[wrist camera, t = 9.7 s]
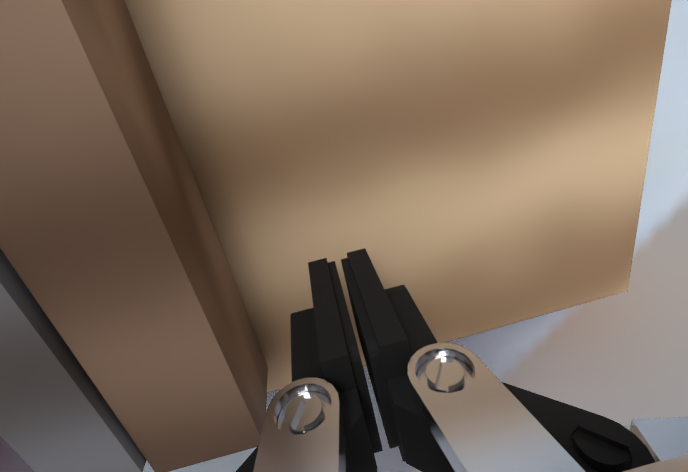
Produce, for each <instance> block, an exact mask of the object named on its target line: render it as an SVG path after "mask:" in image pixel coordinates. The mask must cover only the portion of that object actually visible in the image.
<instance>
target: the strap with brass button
mask: <svg viewBox="0 0 688 472" xmlns="http://www.w3.org/2000/svg"><path fill="white" fill-rule="evenodd" d="M0 249H1V250H2V251H3V253H4V254H5V256H6V257H7V259H8V260H9V262H10V263H11V264H12V266H13V267H14V269H15V270H16V272H17V273H18V275H19V276H20V277H21V279H22V280H23V282H24V283H25V285H26V286H27V288H28V289H29V290H30V292H31V293H32V295H33V296H34V298H35V299H36V301H37V302H38V303H39V305H40V306H41V308H42V309H43V311H44V312H45V314H46V315H47V316H48V318H49V319H50V321H51V322H52V324H53V325H54V327H55V328H56V330H57V331H58V332H59V334H60V335H61V337H62V338H63V340H64V341H65V343H66V344H67V345H68V347H69V348H70V350H71V351H72V353H73V354H74V356H75V357H76V358H77V360H78V361H79V363H80V364H81V366H82V367H83V369H84V370H85V371H86V373H87V374H88V376H89V377H90V379H91V380H92V382H93V383H94V384H95V386H96V387H97V389H98V390H99V392H100V393H101V395H102V396H103V397H104V399H105V400H106V402H107V403H108V405H109V406H110V408H111V409H112V410H113V412H114V413H115V415H116V416H117V418H118V419H119V421H120V422H121V423H122V425H123V426H124V428H125V429H126V431H127V432H128V434H129V435H130V436H131V438H132V439H133V441H134V442H135V444H136V445H137V447H138V448H139V449H140V451H141V452H142V454H143V455H144V457H145V458H146V460H147V461H148V462H149V464H150V465H151V467H152V468H153V470H154V471H155V472H168V471H172V470H175V469H179V468H183V467H186V466H190V465H193V464H197V463H200V462H204V461H208V460H211V459H215V458H218V457H222V456H225V455H229V454H233V453H236V452H240V451H243V450H247V449H250V448H254V447H258V446H259V442H260V438H261V433H262V429H263V424H264V420H265V415H266V399H267V379H268V365H267V362H266V360H265V357H264V355H263V352H262V350H261V347H260V344H259V342H258V339H257V337H256V334H255V332H254V329H253V327H252V324H251V322H250V319H249V316H248V314H247V311H246V309H245V306H244V304H243V301H242V299H241V296H240V293H239V291H238V288H237V286H236V283H235V281H234V278H233V276H232V273H231V271H230V268H229V265H228V263H227V260H226V258H225V255H224V253H223V250H222V248H221V245H220V243H219V240H218V237H217V235H216V232H215V230H214V227H213V225H212V222H211V220H210V217H209V215H208V212H207V209H206V207H205V204H204V202H203V199H202V197H201V194H200V192H199V189H198V186H197V184H196V181H195V179H194V176H193V174H192V171H191V169H190V166H189V164H188V161H187V158H186V156H185V153H184V151H183V148H182V146H181V143H180V141H179V138H178V136H177V133H176V130H175V128H174V125H173V123H172V120H171V118H170V115H169V113H168V110H167V108H166V105H165V102H164V100H163V97H162V95H161V92H160V90H159V87H158V85H157V82H156V79H155V77H154V74H153V72H152V69H151V67H150V64H149V62H148V59H147V57H146V54H145V51H144V49H143V46H142V44H141V41H140V39H139V36H138V34H137V31H136V29H135V26H134V23H133V21H132V18H131V16H130V13H129V11H128V8H127V6H126V3H125V1H124V0H0Z"/></svg>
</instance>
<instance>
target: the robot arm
mask: <svg viewBox="0 0 688 472" xmlns="http://www.w3.org/2000/svg"><path fill="white" fill-rule="evenodd" d="M341 263H342V268H343V272H344V276H345V281H346V285H347V289H348V294H349V298H350V302H351V306H352V311H353V315H354V319H355V324H356V328H357V332H358V336H359V340H360V344H361V348H362V351H363V355H364V358H365V362H366V365H367V369H368V372H369V376H370V380H371V383H372V387H373V390H374V394H375V397H376V401H377V404H378V408H379V412H380V415H381V419H382V422H383V426H384V429H385V433H386V436H387V440H388V443H389V447H390V448H394V447H397V446H399V449H400V453H401V456H402V459H403V461H406V463H407V464H409V465H411V466H413V467H415V468H416V469H418V470H420V471H422V472H688V417H676V418H675V417H674V418H654V419H633V420H632V421H631V425H630V426H622V425H621V424H619V423H617V422H615V421H612V420H610V419H608V418H605V417H603V416H600V415H597V414H594V413H592V412H588V411H586V410H583V409H580V408H577V407H574V406H571V405H568V404H565V403H561V402H559V401H556V400H553V399H550V398H547V397H544V396H541V395H538V394H535V393H532V392H530V391H527V390H524V389H520V388H517V387H515V386H512V385H509V384H506V383H503V382H501V381H500V380H499V379H498V378H497V377H496V376H495V375H494V374H493V373H492V372H491V371H490V370H489V369H488V368H487V366H486V365H485V364H484V363H483V362H482V361H481V360H480V359H479V358H478V357H477V356H476V355H475V354H474V353H472V352H471V351H470V350H469V349H467V348H464V347H462V346H460V345H456V344H451V343H438V342H437V340H436V339H435V337H434V335H433V333H432V332H431V330H430V328H429V326H428V325H427V323H426V321H425V320H424V318H423V316H422V314H421V313H420V311H419V309H418V307H417V306H416V304H415V302H414V300H413V299H412V297H411V295H410V293H409V292H408V290H407V288H406V287H405V285H400V286H396V287H392V288H388V289H384V288H383V285H382V283H381V281H380V279H379V277H378V275H377V273H376V270H375V268H374V266H373V264H372V262H371V260H370V257H369V255H368V253H367V251H366V249H365V248H364V249H360V250H356V251H352V252H348V253H347V258H344V259H341ZM308 267H309V276H310V284H311V292H312V300H313V308H310V309H306V310H302V311H298V312H294V313H291V315H290V326H291V372H292V383H290V384H288V385H286V386H285V387H284V388H282V389H281V390H280V391H279V392H278V393H277V394H276V395H275V396H274V398H273V399H272V400H271V402H270V404H269V406H268V409H267V412H266V415H265V420H264V424H263V429H262V433H261V438H260V442H259V446H258V447H257V448H256V449H255V450H254V451H253V453H252V454H251V455H250V456H249V457H248V458H247V459H246V461H245V462H244V463H243V464H242V465H241V466H240V467H239V469H238V470H237V471H236V472H377V465H376V461H375V457H374V453H376V452H379V451H383V450H382V445H381V441H380V437H379V433H378V428H377V424H376V420H375V416H374V412H373V407H372V403H371V399H370V395H369V390H368V386H367V382H366V378H365V374H364V369H363V365H362V361H361V357H360V353H359V349H358V345H357V341H356V338H355V334H354V330H353V326H352V323H351V319H350V315H349V312H348V308H347V304H346V300H345V297H344V293H343V289H342V286H341V282H340V278H339V274H338V271H337V267H336V263H335V261H332V262H327V258H324V259H320V260H316V261H312V262H308Z"/></svg>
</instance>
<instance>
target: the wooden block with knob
mask: <svg viewBox="0 0 688 472" xmlns="http://www.w3.org/2000/svg"><path fill="white" fill-rule="evenodd" d="M124 1H125V3H126V6H127V8H128V11H129V13H130V16H131V18H132V21H133V23H134V26H135V29H136V31H137V34H138V36H139V39H140V41H141V44H142V46H143V49H144V51H145V54H146V57H147V59H148V62H149V64H150V67H151V69H152V72H153V74H154V77H155V79H156V82H157V85H158V87H159V90H160V92H161V95H162V97H163V100H164V102H165V105H166V108H167V110H168V113H169V115H170V118H171V120H172V123H173V125H174V128H175V130H176V133H177V136H178V138H179V141H180V143H181V146H182V148H183V151H184V153H185V156H186V158H187V161H188V164H189V166H190V169H191V171H192V174H193V176H194V179H195V181H196V184H197V186H198V189H199V192H200V194H201V197H202V199H203V202H204V204H205V207H206V209H207V212H208V215H209V217H210V220H211V222H212V225H213V227H214V230H215V232H216V235H217V237H218V240H219V243H220V245H221V248H222V250H223V253H224V255H225V258H226V260H227V263H228V265H229V268H230V271H231V273H232V276H233V278H234V281H235V283H236V286H237V288H238V291H239V293H240V296H241V299H242V301H243V304H244V306H245V309H246V311H247V314H248V316H249V319H250V322H251V324H252V327H253V329H254V332H255V334H256V337H257V339H258V342H259V344H260V347H261V350H262V352H263V355H264V357H265V360H266V362H267V365H268V379H267V393H268V392H272V391H275V390H279V389H282V388H284V387H285V386H286V385H288V384H290V383H292V372H291V326H290V315H291V313H294V312H298V311H302V310H306V309H310V308H313V300H312V292H311V284H310V276H309V267H308V262H312V261H316V260H320V259H324V258H327V262H332V261H335V263H336V267H337V271H338V274H339V278H340V282H341V286H342V289H343V293H344V297H345V300H346V304H347V308H348V312H349V315H350V319H351V323H352V326H353V330H354V334H355V338H356V341H357V345H358V349H359V353H360V357H361V361H362V365H363V366H364V365H366V362H365V358H364V355H363V351H362V348H361V344H360V340H359V336H358V332H357V328H356V324H355V319H354V315H353V311H352V306H351V302H350V298H349V294H348V289H347V285H346V281H345V276H344V272H343V268H342V263H341V259H344V258H347V253H348V252H352V251H356V250H360V249H364V248H365V249H366V251H367V253H368V255H369V257H370V260H371V262H372V264H373V266H374V268H375V270H376V273H377V275H378V277H379V279H380V281H381V283H382V285H383V288H384V289H388V288H392V287H396V286H400V285H405V287H406V288H407V290H408V292H409V293H410V295H411V297H412V299H413V300H414V302H415V304H416V306H417V307H418V309H419V311H420V313H421V314H422V316H423V318H424V320H425V321H426V323H427V325H428V326H429V328H430V330H431V332H432V333H433V335H434V337H435V339H436V340H437V342H438V343H445V342H449V341H452V340H456V339H460V338H463V337H467V336H470V335H474V334H477V333H481V332H484V331H488V330H491V329H495V328H498V327H502V326H506V325H509V324H513V323H516V322H520V321H523V320H527V319H530V318H534V317H537V316H541V315H544V314H548V313H552V312H555V311H559V310H562V309H566V308H569V307H573V306H576V305H580V304H583V303H587V302H591V301H594V300H597V299H601V298H605V297H608V296H612V295H615V294H619V293H622V292H625V291H628V284H629V278H630V271H631V265H632V258H633V251H634V245H635V238H636V232H637V225H638V218H639V212H640V205H641V199H642V192H643V185H644V179H645V172H646V166H647V159H648V152H649V146H650V139H651V133H652V126H653V119H654V113H655V106H656V100H657V93H658V86H659V80H660V73H661V67H662V60H663V53H664V47H665V40H666V34H667V27H668V20H669V14H670V7H671V1H672V0H124ZM0 437H1V438H2V439H3V440H4V441H5V442H6V443H7V444H8V445H9V446H10V447H11V448H12V449H13V450H14V451H15V452H16V453H17V454H18V455H19V457H20V458H21V459H22V460H23V461H24V462H25V463H26V464H27V465H28V466H29V467H30V468H31V469H32V470H33V471H34V472H142V471H143V468H144V465H145V463H146V458H145V457H144V455H143V454H142V452H141V451H140V449H139V448H138V447H137V445H136V444H135V442H134V441H133V439H132V438H131V436H130V435H129V434H128V432H127V431H126V429H125V428H124V426H123V425H122V423H121V422H120V421H119V419H118V418H117V416H116V415H115V413H114V412H113V410H112V409H111V408H110V406H109V405H108V403H107V402H106V400H105V399H104V397H103V396H102V395H101V393H100V392H99V390H98V389H97V387H96V386H95V384H94V383H93V382H92V380H91V379H90V377H89V376H88V374H87V373H86V371H85V370H84V369H83V367H82V366H81V364H80V363H79V361H78V360H77V358H76V357H75V356H74V354H73V353H72V351H71V350H70V348H69V347H68V345H67V344H66V343H65V341H64V340H63V338H62V337H61V335H60V334H59V332H58V331H57V330H56V328H55V327H54V325H53V324H52V322H51V321H50V319H49V318H48V316H47V315H46V314H45V312H44V311H43V309H42V308H41V306H40V305H39V303H38V302H37V301H36V299H35V298H34V296H33V295H32V293H31V292H30V290H29V289H28V288H27V286H26V285H25V283H24V282H23V280H22V279H21V277H20V276H19V275H18V273H17V272H16V270H15V269H14V267H13V266H12V264H11V263H10V262H9V260H8V259H7V257H6V256H5V254H4V253H3V251H2V250H1V249H0Z"/></svg>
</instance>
